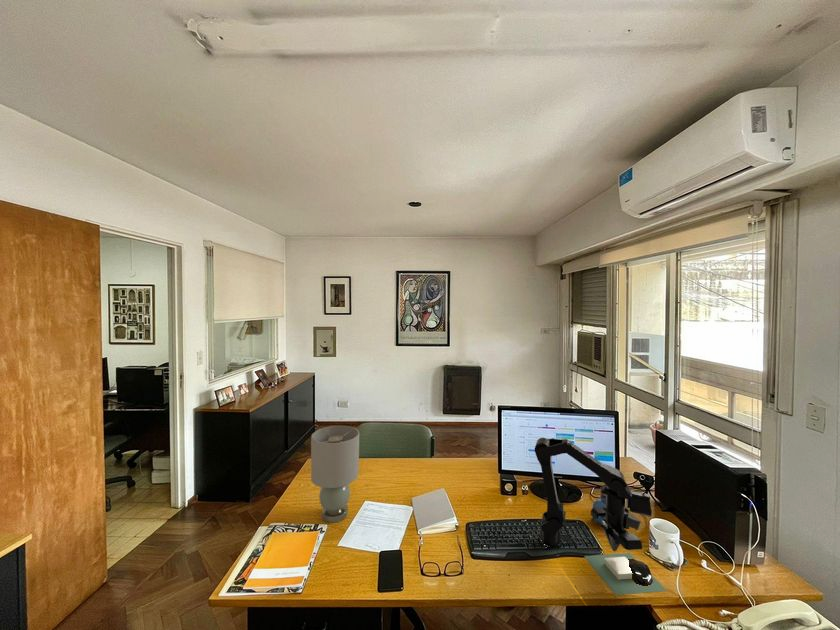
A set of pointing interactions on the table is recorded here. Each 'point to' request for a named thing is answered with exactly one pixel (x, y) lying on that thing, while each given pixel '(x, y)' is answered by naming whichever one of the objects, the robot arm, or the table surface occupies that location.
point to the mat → (623, 584)
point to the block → (619, 567)
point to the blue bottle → (600, 503)
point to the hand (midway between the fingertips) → (614, 550)
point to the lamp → (334, 468)
